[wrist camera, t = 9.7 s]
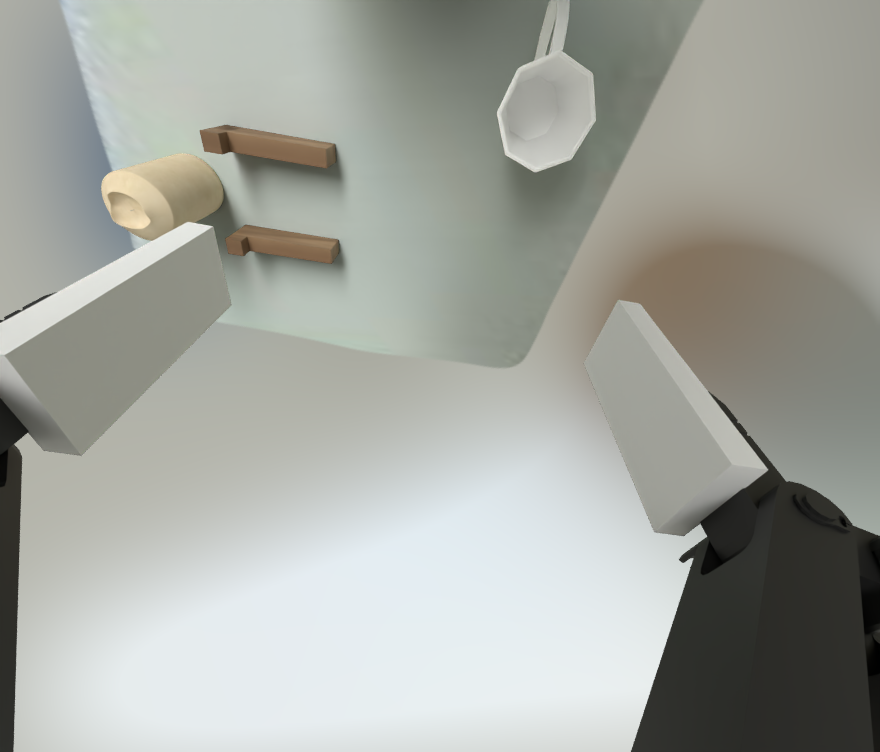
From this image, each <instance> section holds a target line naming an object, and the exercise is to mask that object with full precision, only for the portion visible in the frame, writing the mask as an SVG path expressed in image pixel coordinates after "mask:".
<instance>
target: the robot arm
mask: <svg viewBox="0 0 880 752" xmlns="http://www.w3.org/2000/svg"><path fill="white" fill-rule="evenodd" d="M230 306H231V301H230V296H229V292H228V288H227V283H226V279H225V275H224V270H223V266H222V262H221V257H220V253H219V249H218V244H217V240H216V236H215V231H214V227H213V226H208V225H203V224H197V223H192V222H186V223H184V224H183V225H181V226H179V227H177V228H175V229H173V230H172V231H170V232H168V233H166V234H164V235H162V236H160V237H159V238H157V239H155V240H153V241H151V242H149V243H147V244H146V245H144V246H142V247H140V248H138V249H136V250H135V251H133V252H131V253H129V254H127V255H125V256H123V257H122V258H120V259H118V260H116V261H115V262H112V263H111V264H109V265H107V266H105V267H103V268H101V269H99V270H98V271H96V272H94V273H92V274H90V275H88V276H86V277H85V278H83V279H81V280H79V281H77V282H75V283H74V284H72V285H70V286H68V287H66V288H64V289H63V290H61V291H59V292H56V293H52V294H49V295H46V296H43V297H41V298H39V299H38V300H36V301H34V302H32V303H30V304H28V305H26V306H24V307H23V310H17V311H15V312H13V313H11V314H9V315H8V316H6V317H4V318H5V319H4V320H0V752H13V745H14V713H15V679H16V677H15V676H16V644H17V610H18V577H19V543H20V509H21V474H22V456H21V453H20V451H19V449H18V448H17V447H16V446H15V445H14V443H16V442H17V441H18V440H19V439H21V438H22V437H23V436H24V435H25V434H27V433H29V434H30V435H31V437H32V438H33V439H34V440H35V441H36V442H37V444H38V445H39V446H40V447H41V448H42V449H43V450H44V451H49V452H57V453H65V454H72V455H80V456H81V455H83V454H84V453H85V452H86V451H87V450H88V449H89V448H90V447H91V446H92V445H93V444H94V442H96V441H97V440H98V439H99V437H101V436H102V435H103V434H104V433H105V431H107V429H108V428H110V427H111V426H112V425H113V424H114V422H116V421H117V420H118V418H119V417H121V416H122V415H123V414H124V413H125V412H126V410H128V409H129V407H130V406H132V404H133V403H134V402H135V401H136V400H137V399H138V398H139V397H140V396H141V395H142V394H143V393H144V392H145V391H146V390H147V389H148V388H149V387H150V386H151V385H152V384H153V383H154V382H155V381H156V380H157V379H158V378H159V377H160V376H161V375H162V374H163V373H164V372H165V371H166V370H167V369H168V368H169V367H170V366H171V365H172V364H173V363H174V362H175V361H176V360H177V359H178V358H179V357H180V356H181V355H182V354H183V353H184V352H185V351H186V350H187V349H188V348H189V347H190V346H191V345H192V344H193V343H194V342H195V341H196V340H197V339H198V338H199V337H200V336H201V335H202V334H203V333H204V332H205V331H206V330H207V329H208V328H209V327H210V326H211V325H212V324H213V323H214V322H215V321H216V320H217V319H218V318H219V317H220V316H221V315H222V314H223V313H224V312H225V311H226V310H227V309H228V308H229V307H230ZM584 366H585V368H586V371H587V373H588V375H589V378H590V380H591V383H592V385H593V387H594V390H595V392H596V394H597V397H598V399H599V402H600V404H601V406H602V409H603V411H604V414H605V416H606V418H607V420H608V423H609V425H610V428H611V430H612V432H613V435H614V437H615V440H616V442H617V445H618V447H619V449H620V452H621V454H622V457H623V459H624V461H625V463H626V466H627V468H628V471H629V473H630V476H631V478H632V480H633V483H634V485H635V487H636V490H637V492H638V495H639V497H640V499H641V501H642V504H643V506H644V509H645V511H646V514H647V516H648V519H649V521H650V523H651V526H652V528H653V530H654V532H656V533H665V534H672V535H679V536H685V535H686V534H687V533H689V532H690V531H691V530H692V529H694V528H695V527H696V526H698V525H699V524H700V523H701V525H702V527H703V529H704V531H705V533H706V535H707V537H706V538H705V539H703V540H702V541H701V542H699V543H698V544H697V545H695V546H694V547H692V548H691V549H690V550H688V551H687V552H686V553H684V554H683V555H682V556H681V557H680V559H679V560H680V561H681V562H682V563H684V562H686V561H687V560H688V559H690V558H694V559H693V562H692V565H691V567H690V571H689V574H688V578H687V581H686V584H685V587H684V590H683V593H682V596H681V599H680V602H679V605H678V608H677V611H676V615H675V618H674V621H673V624H672V627H671V630H670V633H669V636H668V639H667V642H666V646H665V648H664V652H663V655H662V658H661V661H660V664H659V667H658V670H657V673H656V677H655V679H654V682H653V685H652V689H651V692H650V695H649V698H648V701H647V704H646V707H645V710H644V714H643V717H642V719H641V722H640V726H639V729H638V732H637V735H636V738H635V741H634V744H633V747H632V750H631V752H880V536H878V535H875V534H873V533H870V532H868V531H865V530H863V529H860V528H857V527H855V526H853V525H852V523H851V522H850V521H849V519H848V518H847V517H846V516H845V515H844V513H843V512H842V511H841V510H840V509H839V508H838V507H837V506H836V505H835V504H833V503H832V502H831V501H830V500H829V499H827V498H826V497H824V496H823V495H821V494H820V493H818V492H817V491H815V490H813V489H811V488H808V487H806V486H804V485H802V484H799V483H794V482H790V481H789V482H786V481H785V480H784V478H783V477H782V476H781V474H780V473H779V472H778V471H777V469H776V468H775V467H774V466H773V464H772V463H771V462H770V461H769V460H768V458H767V457H766V456H765V454H764V453H763V452H762V451H761V449H760V448H759V447H758V445H757V444H756V443H755V442H754V441H753V439H752V438H751V437H750V436H747V432H746V430H745V429H744V428H743V427H742V425H741V424H740V423H737V419H736V418H735V417H734V415H733V414H732V413H731V411H730V410H729V409H728V408H727V407H726V405H725V404H723V403H722V402H721V401H720V400H718V399H717V398H716V397H715V396H713V395H712V394H711V393H710V392H709V391H707V390H706V389H705V387H704V386H703V385H702V383H701V382H700V381H699V379H698V378H697V377H696V376H695V374H694V373H693V372H692V370H691V369H690V368H689V367H688V365H687V364H686V363H685V361H684V360H683V359H682V357H681V356H680V355H679V354H678V352H677V351H676V350H675V349H674V347H673V346H672V345H671V343H670V342H669V341H668V339H667V338H666V337H665V336H664V334H663V333H662V332H661V330H660V329H659V328H658V327H657V325H656V324H655V323H654V321H653V320H652V319H651V318H650V316H649V315H648V314H647V313H646V311H645V310H644V308H643V307H642V306H641V305H640V304H639V303H633V302H628V301H622V300H618V301H617V303H616V305H615V307H614V308H613V310H612V312H611V314H610V316H609V318H608V320H607V321H606V323H605V325H604V327H603V329H602V331H601V332H600V334H599V336H598V338H597V340H596V342H595V344H594V345H593V347H592V349H591V351H590V353H589V354H588V356H587V358H586V360H585V362H584Z"/></svg>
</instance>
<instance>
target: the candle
mask: <svg viewBox="0 0 880 752" xmlns="http://www.w3.org/2000/svg"><path fill="white" fill-rule="evenodd" d="M101 189H102V196H103V200H104V202H105V205H106V207H107V209H108V210H109V212H110V214H111V217H112V219H113V220H114V221H115V222H116V223H117V224H119V225H121V226H122V227H124V228H125V229H127V230H128V231H129V232H131V233H133V234H134V235H136V236H138V237H141V238H143V239H146V240H151V241H153V240H155V239H157V238H159V237H160V236H162V235H164V234H166V233H168V232H170V231H172V230H173V229H175V228H177V227H179V226H181V225H183V224H184V223H186V222H192V223H195V222H197V221H199V220H201V219H203V218H204V217H206V216H208V215H210V214H212V213H213V212H215V211H216V210H217V209H218V208H219V207H220V206H221V204H222V202H223V197H224V194H223V188H222V184H221V182H220V180H219V178H218V176H217V175H216V173H215V172H214V170H213V169H212V168H211V167H210V166H209V165H208V164H207V163H205V162H204V161H203V160H201V159H200V158H198V157H196V156H193V155H190V154H175V155H171V156H167V157H164V158H160V159H156V160H153V161H149V162H145V163H142V164H138V165H134V166H131V167H127V168H124V169H120V170H116V171H113V172H110V173H109V174H107V175H106V176H105V178H104V179H103V182H102V187H101Z"/></svg>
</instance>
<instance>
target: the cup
mask: <svg viewBox="0 0 880 752" xmlns="http://www.w3.org/2000/svg"><path fill="white" fill-rule="evenodd" d="M569 11H570V0H550V1H549V4H548V7H547V11H546V14H545V17H544V21H543V25H542V29H541V33H540V37H539V41H538V45H537V49H536V54H535V58H534V61H532V62H530V63H528V64H525V65H523V66H521V67H519V68H518V69H517V71H516V73H515V75H514V77H513V79H512V82H511V84H510V86H509V88H508V90H507V92H506V94H505V96H504V98H503V101H502V103H501V105H500V107H499V109H498V111H497V117H498V122H499V127H500V132H501V137H502V142H503V147H504V152H505V155H506V156H508V157H510V158H511V159H513V160H515V161H516V162H518V163H520V164H521V165H523V166H525V167H526V168H528V169H530V170H531V171H533V172H535V173H536V172H538V171H541V170H544V169H547V168H550V167H552V166H555V165H558V164H561V163H564V162H566V161H569V160H571V159H572V158H573V156H574V155H575V153H576V151H577V150H578V148H579V147H580V145H581V143H582V142H583V140H584V139H585V137H586V135H587V134H588V132H589V131H590V129H591V128H592V126H593V124H594V123H595V121H596V112H595V96H594V80H593V73H592V72H591V71H589V70H588V69H586V68H585V67H584V66H582V65H581V64H579V63H578V62H577V61H575V60H574V59H572V58H571V57H570V56H568V55H567V54H565V53H564V52H563V47H564V42H565V37H566V32H567V26H568V19H569ZM555 19H556V20H555ZM554 22H555V27H554V32H553V37H552V42H551V46H550V51H549V54H548V55H546V51H547V47H548V43H549V40H550V36H551V33H552V29H553V25H554ZM545 55H546V56H545Z"/></svg>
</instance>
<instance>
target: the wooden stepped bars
mask: <svg viewBox="0 0 880 752" xmlns="http://www.w3.org/2000/svg"><path fill="white" fill-rule="evenodd" d="M200 134H201V139H202V143H203V147H204V151H205V152H211V153H217V154H225V153H228V152H235V153H240V154H246V155H252V156H258V157H264V158H270V159H275V160H281V161H287V162H293V163H299V164H304V165H310V166H316V167H322V168H328V167H330V166H331V165H332V164H334V163H335V162H336V155H335V144H332V143H326V142H320V141H315V140H309V139H303V138H298V137H292V136H286V135H281V134H275V133H269V132H264V131H258V130H252V129H247V128H241V127H235V126H229V125H223V126H219V127H214V128H209V129H204V130H200ZM225 241H226V245H227V249H228V253H229V254H234V255H240V256H244V255H246V254H247V253H248V252H249V251H254V252H260V253H266V254H273V255H279V256H286V257H292V258H298V259H305V260H311V261H317V262H324V263H330V264H332V262H333V261H334V259H335V258H336V257H337V255H338V254H339V241H338V240H337V239H331V238H325V237H318V236H312V235H306V234H300V233H294V232H287V231H281V230H275V229H269V228H262V227H256V226H250V225H244V226H243V227H242V228H240V229H239V230H237V231H236V232H234V233H233V234H231V235H230V236H229V237H227V238H226V239H225Z"/></svg>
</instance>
